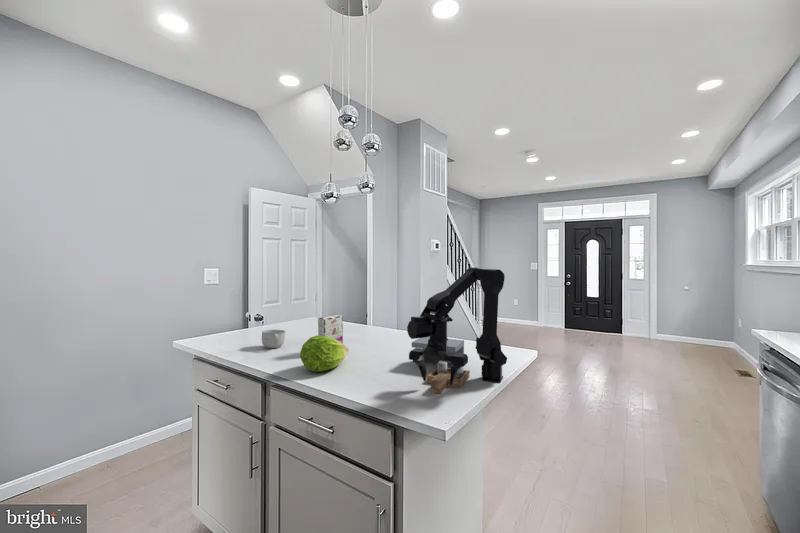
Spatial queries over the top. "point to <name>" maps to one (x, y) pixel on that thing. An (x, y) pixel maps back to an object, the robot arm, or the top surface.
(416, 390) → the top surface
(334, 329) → the candy bar box
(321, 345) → the lettuce
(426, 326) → the robot arm
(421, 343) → the grey piece
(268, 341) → the teacup
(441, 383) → the walnut tray
